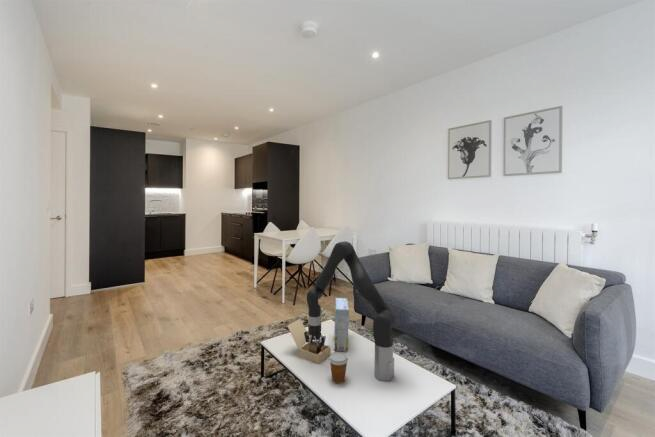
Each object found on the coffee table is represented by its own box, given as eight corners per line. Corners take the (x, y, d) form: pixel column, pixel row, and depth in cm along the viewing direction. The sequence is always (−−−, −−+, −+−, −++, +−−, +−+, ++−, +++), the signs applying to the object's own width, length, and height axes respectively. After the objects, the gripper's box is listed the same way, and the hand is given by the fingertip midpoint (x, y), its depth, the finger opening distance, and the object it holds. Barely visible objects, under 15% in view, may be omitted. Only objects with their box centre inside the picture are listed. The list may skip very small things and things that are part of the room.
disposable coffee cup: (332, 386, 147) (332, 362, 146) (326, 375, 156) (326, 353, 156) (350, 383, 150) (350, 360, 149) (344, 372, 159) (344, 350, 158)
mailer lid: (300, 318, 188) (299, 318, 188) (287, 325, 178) (287, 325, 178) (310, 339, 184) (310, 339, 184) (298, 347, 174) (298, 348, 174)
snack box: (349, 351, 180) (349, 309, 179) (334, 351, 181) (334, 309, 179) (347, 335, 202) (347, 297, 200) (334, 335, 202) (334, 297, 201)
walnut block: (315, 355, 172) (315, 346, 172) (308, 352, 175) (308, 344, 174) (320, 351, 176) (320, 343, 176) (313, 349, 179) (313, 340, 179)
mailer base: (330, 354, 177) (330, 346, 177) (318, 364, 167) (318, 355, 166) (311, 348, 184) (311, 340, 184) (298, 357, 174) (298, 348, 174)
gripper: (328, 323, 174) (328, 351, 175) (308, 317, 181) (308, 345, 182) (321, 327, 167) (321, 357, 168) (300, 322, 175) (300, 350, 176)
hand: (314, 351), depth 175 cm, fingers closed on walnut block, 5 cm apart
